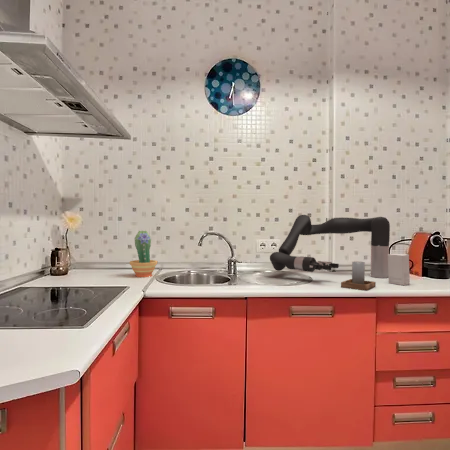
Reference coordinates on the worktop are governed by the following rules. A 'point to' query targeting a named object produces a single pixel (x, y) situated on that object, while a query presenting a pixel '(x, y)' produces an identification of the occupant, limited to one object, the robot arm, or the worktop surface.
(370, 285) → the tray
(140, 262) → the potted cactus
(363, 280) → the grey upright block
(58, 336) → the worktop surface
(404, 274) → the skincare box
